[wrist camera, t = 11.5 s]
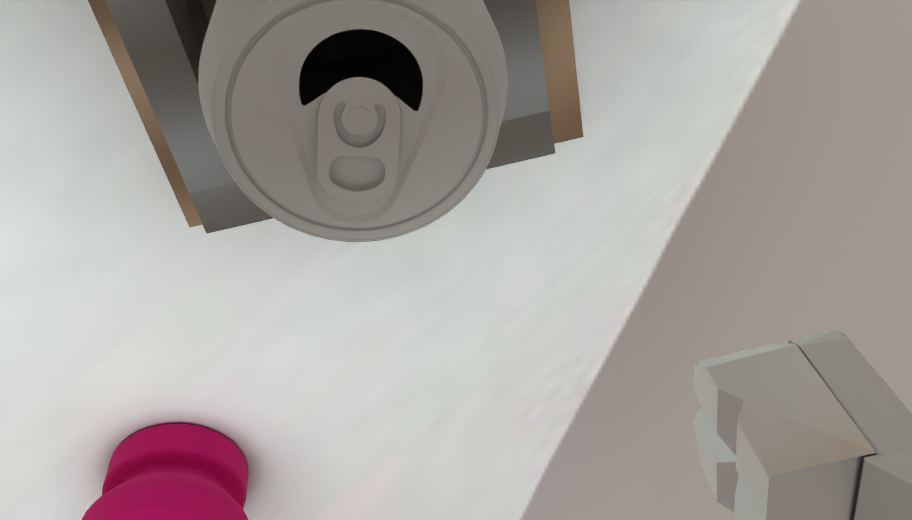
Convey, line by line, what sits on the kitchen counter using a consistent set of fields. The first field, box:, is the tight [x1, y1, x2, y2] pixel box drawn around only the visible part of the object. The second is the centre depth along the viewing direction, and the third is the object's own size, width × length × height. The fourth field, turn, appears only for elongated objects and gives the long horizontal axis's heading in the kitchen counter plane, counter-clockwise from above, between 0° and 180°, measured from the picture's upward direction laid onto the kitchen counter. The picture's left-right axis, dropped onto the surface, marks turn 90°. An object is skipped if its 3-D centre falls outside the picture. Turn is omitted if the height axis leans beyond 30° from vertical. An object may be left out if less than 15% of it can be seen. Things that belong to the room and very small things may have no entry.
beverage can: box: [198, 0, 508, 242], centre depth 21 cm, size 6×6×12 cm
